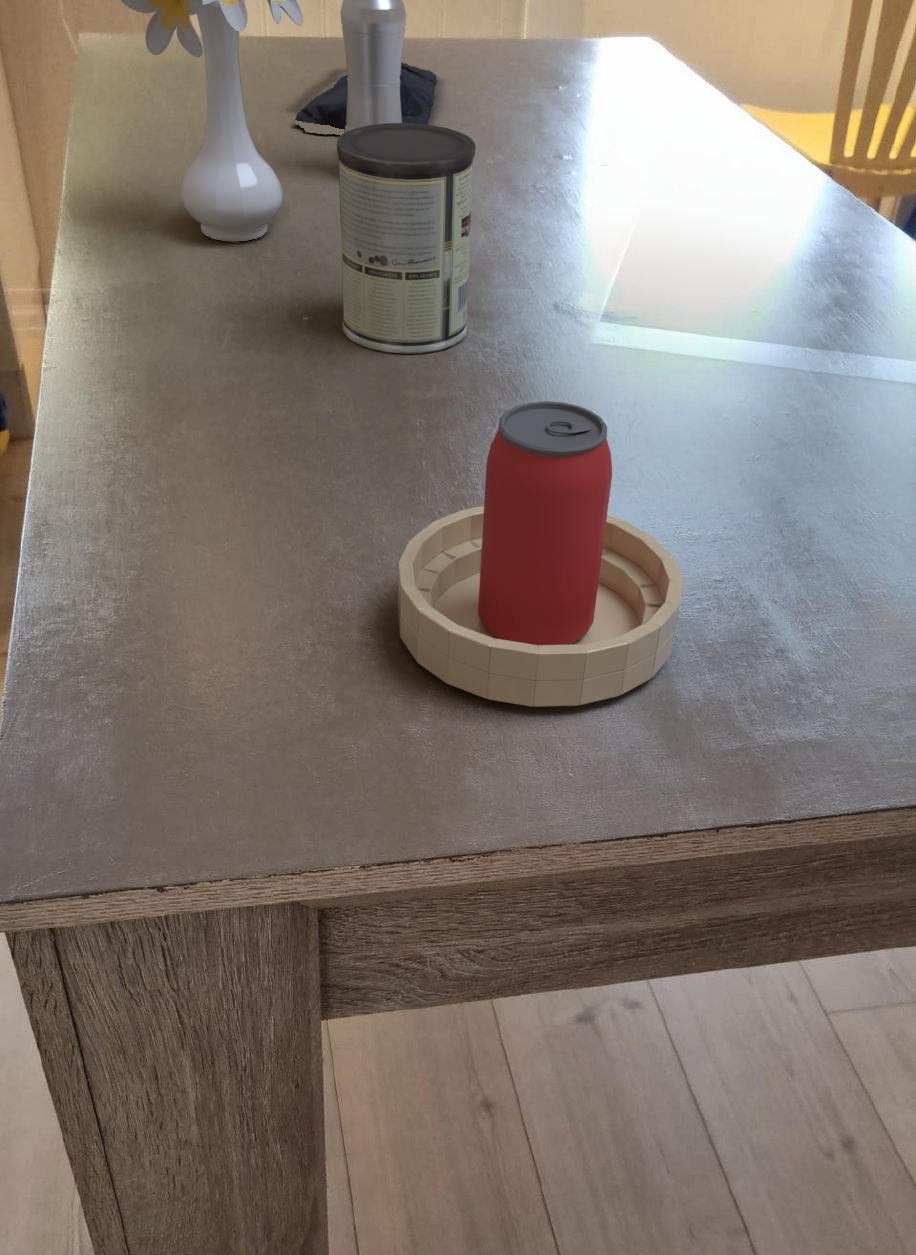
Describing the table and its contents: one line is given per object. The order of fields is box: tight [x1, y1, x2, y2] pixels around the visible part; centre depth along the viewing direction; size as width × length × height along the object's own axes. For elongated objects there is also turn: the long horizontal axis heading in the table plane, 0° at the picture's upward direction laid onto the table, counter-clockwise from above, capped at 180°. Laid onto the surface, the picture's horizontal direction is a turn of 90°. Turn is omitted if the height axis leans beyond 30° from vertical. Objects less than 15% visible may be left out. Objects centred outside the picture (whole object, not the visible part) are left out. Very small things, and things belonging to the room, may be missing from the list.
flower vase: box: [120, 0, 304, 243], centre depth 113 cm, size 13×18×25 cm
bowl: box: [397, 505, 685, 708], centre depth 73 cm, size 16×16×4 cm
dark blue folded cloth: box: [294, 61, 438, 130], centre depth 152 cm, size 15×22×5 cm
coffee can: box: [336, 123, 476, 355], centre depth 102 cm, size 10×10×14 cm
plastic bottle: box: [339, 0, 407, 133], centre depth 129 cm, size 6×7×20 cm
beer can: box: [478, 400, 613, 645], centre depth 70 cm, size 7×7×12 cm
